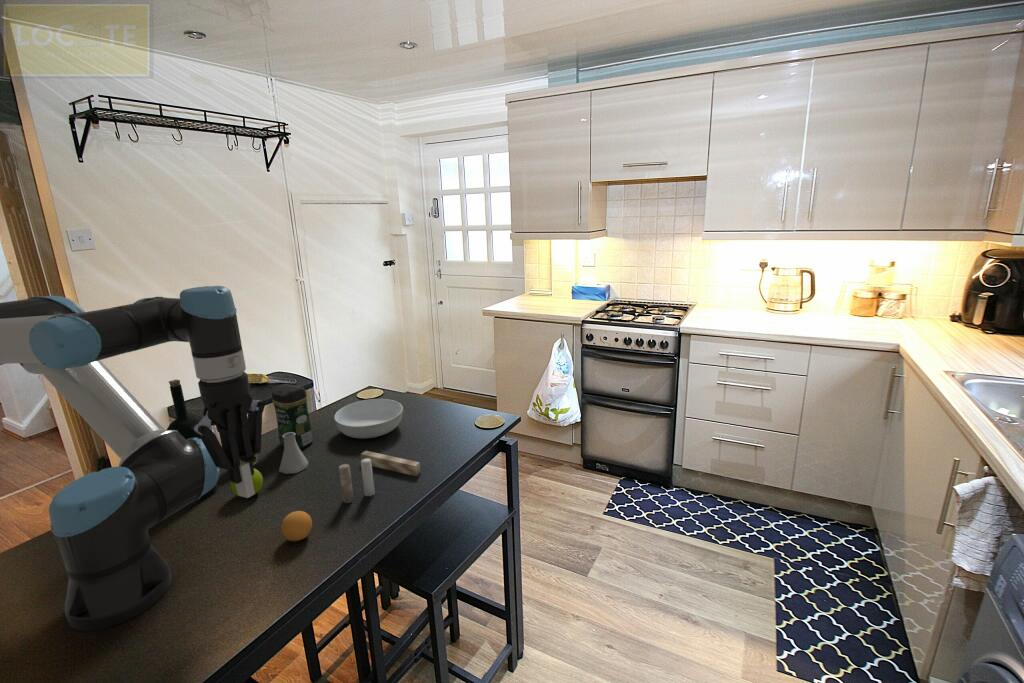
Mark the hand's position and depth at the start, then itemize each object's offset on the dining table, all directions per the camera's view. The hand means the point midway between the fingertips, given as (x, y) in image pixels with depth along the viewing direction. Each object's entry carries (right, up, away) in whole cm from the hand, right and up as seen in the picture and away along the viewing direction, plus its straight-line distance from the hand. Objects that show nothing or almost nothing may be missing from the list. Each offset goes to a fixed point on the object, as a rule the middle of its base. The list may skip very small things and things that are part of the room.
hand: (246, 494), depth 90 cm
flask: (-10, -6, +42) cm, 43 cm away
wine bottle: (-29, -10, +30) cm, 43 cm away
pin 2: (+15, -9, +28) cm, 33 cm away
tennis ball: (-15, -10, +29) cm, 35 cm away
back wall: (+17, -6, +40) cm, 44 cm away
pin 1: (+11, -10, +26) cm, 29 cm away
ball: (+4, -10, +12) cm, 16 cm away
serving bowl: (+5, 0, +63) cm, 63 cm away
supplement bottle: (-24, -6, +45) cm, 51 cm away
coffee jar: (-15, -3, +56) cm, 58 cm away
